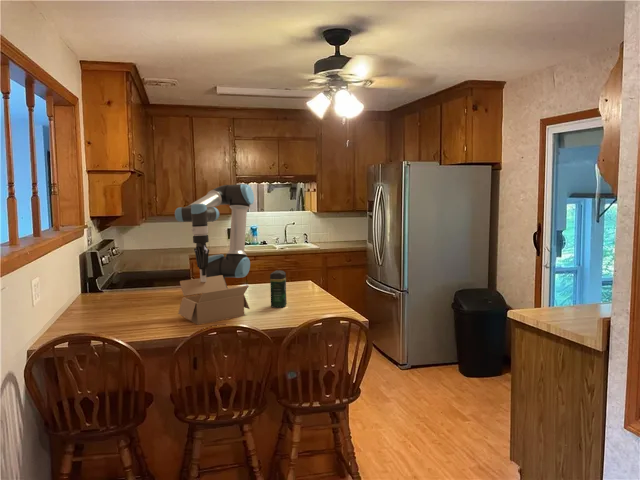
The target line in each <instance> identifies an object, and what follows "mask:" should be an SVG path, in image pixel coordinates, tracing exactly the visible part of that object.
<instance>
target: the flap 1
mask: <svg viewBox="0 0 640 480" xmlns="http://www.w3.org/2000/svg"><path fill="white" fill-rule="evenodd" d="M206 280H207V282H201V281H200V277H199V278H192V279H185V280H180V281H179V285H180V288H181V292H182V295H183V297H190V296H196V295H202V293H203V292H207V291H214V290H220V289H226V288H228V286H227V287H226V285H227V283H226V284H225V282H226V280H225V281H224V278H223V275H220V276H212V277H206Z"/></svg>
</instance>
